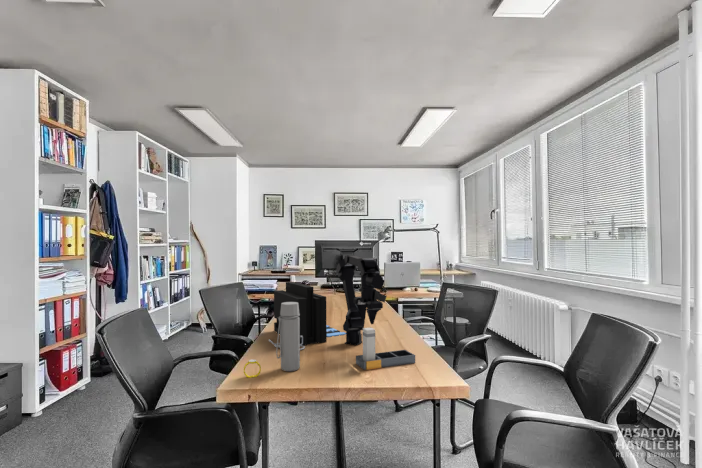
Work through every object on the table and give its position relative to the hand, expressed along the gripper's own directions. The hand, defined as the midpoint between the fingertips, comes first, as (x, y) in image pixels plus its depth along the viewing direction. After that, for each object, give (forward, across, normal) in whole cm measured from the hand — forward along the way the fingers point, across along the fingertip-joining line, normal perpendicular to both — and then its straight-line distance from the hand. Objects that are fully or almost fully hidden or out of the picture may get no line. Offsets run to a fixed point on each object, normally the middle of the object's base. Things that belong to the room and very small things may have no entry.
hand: (367, 322), depth 169 cm
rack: (+13, -18, +1) cm, 23 cm away
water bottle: (+13, -9, +37) cm, 41 cm away
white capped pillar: (+12, -18, +8) cm, 23 cm away
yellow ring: (+13, -12, +51) cm, 54 cm away
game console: (+13, +40, +14) cm, 44 cm away
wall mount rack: (+13, +18, +32) cm, 39 cm away
